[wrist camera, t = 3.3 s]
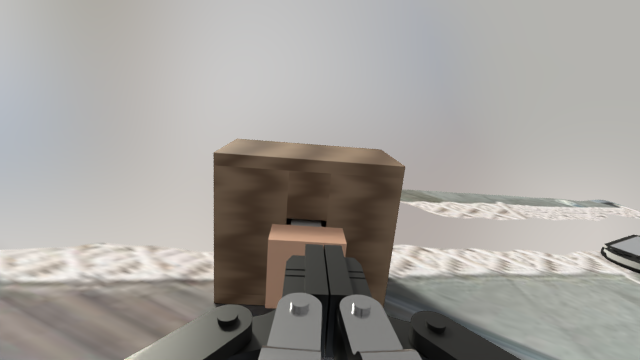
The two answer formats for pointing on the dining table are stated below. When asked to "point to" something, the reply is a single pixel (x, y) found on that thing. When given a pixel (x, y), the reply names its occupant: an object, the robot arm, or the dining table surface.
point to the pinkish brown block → (294, 250)
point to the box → (300, 208)
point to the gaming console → (624, 252)
